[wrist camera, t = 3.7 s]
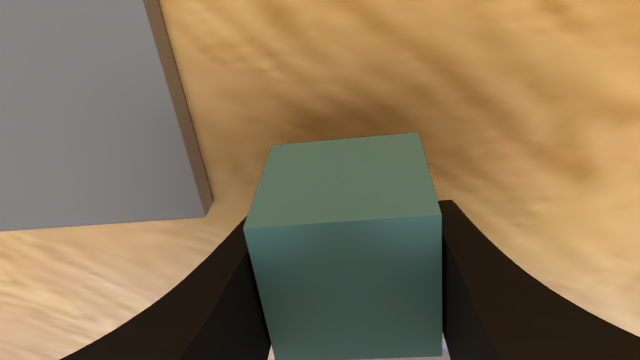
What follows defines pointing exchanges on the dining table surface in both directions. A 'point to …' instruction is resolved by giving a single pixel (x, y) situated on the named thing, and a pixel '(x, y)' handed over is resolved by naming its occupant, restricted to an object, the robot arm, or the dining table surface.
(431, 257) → the teal cube
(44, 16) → the plate
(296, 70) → the dining table surface
